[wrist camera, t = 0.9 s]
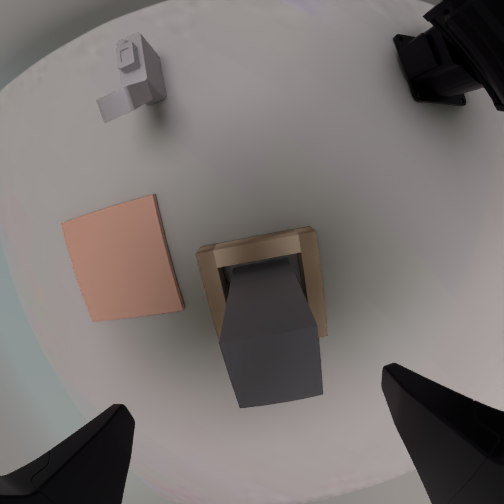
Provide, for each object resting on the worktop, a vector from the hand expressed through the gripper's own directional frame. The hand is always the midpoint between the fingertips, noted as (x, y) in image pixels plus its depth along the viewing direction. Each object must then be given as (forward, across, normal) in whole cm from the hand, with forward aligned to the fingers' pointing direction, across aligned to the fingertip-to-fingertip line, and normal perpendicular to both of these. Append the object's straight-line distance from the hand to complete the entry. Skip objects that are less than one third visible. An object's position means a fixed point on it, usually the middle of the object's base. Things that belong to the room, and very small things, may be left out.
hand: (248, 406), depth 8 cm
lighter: (+13, +4, -15) cm, 20 cm away
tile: (+13, +10, -3) cm, 17 cm away
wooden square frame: (+13, -1, +1) cm, 13 cm away
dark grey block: (+13, -1, +1) cm, 13 cm away
